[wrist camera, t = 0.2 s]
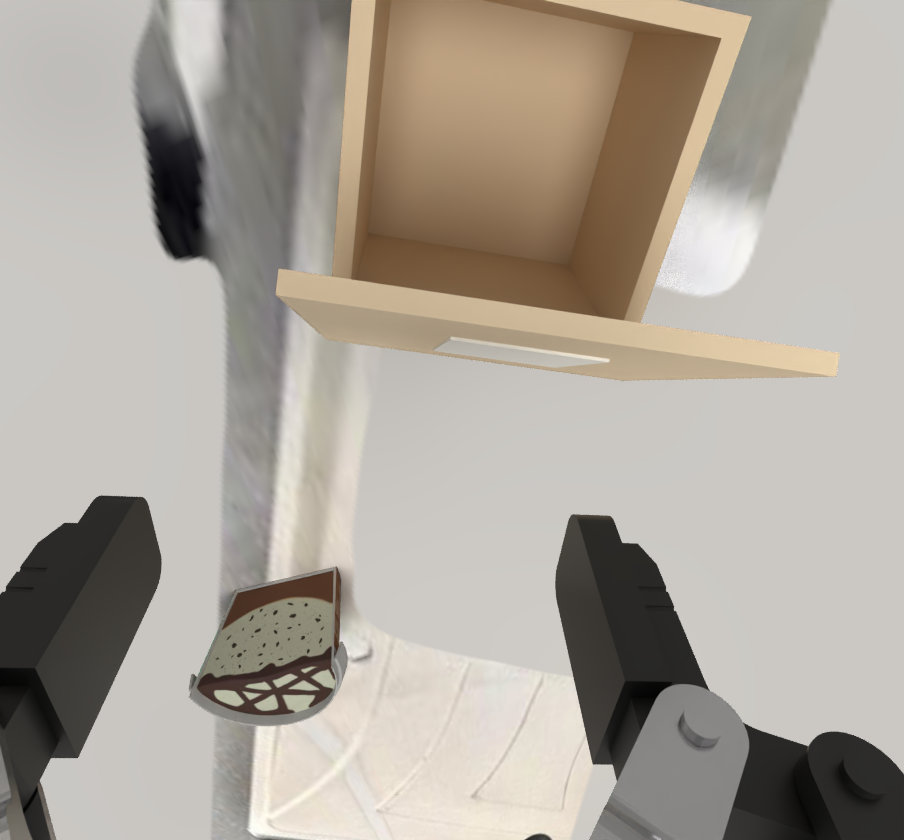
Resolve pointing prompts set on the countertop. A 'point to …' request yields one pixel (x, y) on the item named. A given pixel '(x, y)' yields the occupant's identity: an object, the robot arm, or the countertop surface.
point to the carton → (525, 145)
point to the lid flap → (533, 334)
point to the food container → (275, 653)
